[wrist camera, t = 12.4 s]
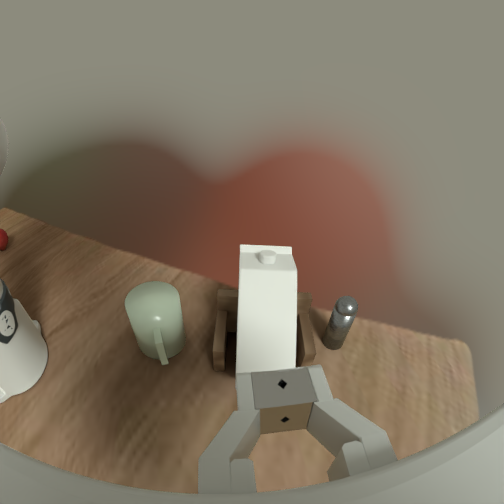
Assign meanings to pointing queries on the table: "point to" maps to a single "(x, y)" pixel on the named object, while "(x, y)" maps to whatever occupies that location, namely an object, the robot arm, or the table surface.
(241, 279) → the milk carton
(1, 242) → the onion
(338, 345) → the grey shaker
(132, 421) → the table surface
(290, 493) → the robot arm
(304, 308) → the walnut holder
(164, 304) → the sage mug
